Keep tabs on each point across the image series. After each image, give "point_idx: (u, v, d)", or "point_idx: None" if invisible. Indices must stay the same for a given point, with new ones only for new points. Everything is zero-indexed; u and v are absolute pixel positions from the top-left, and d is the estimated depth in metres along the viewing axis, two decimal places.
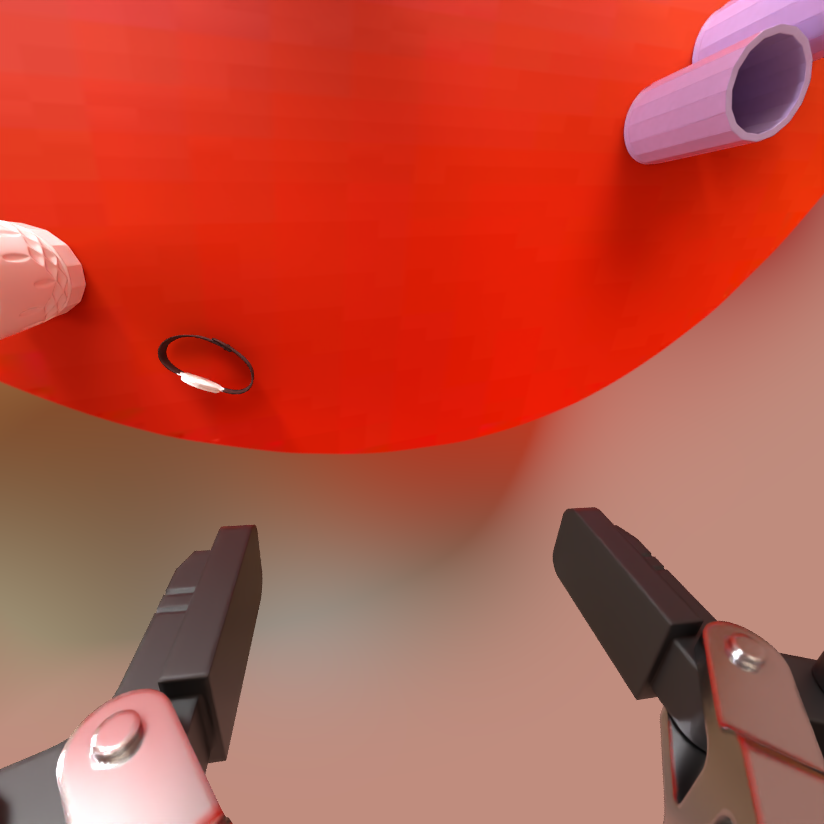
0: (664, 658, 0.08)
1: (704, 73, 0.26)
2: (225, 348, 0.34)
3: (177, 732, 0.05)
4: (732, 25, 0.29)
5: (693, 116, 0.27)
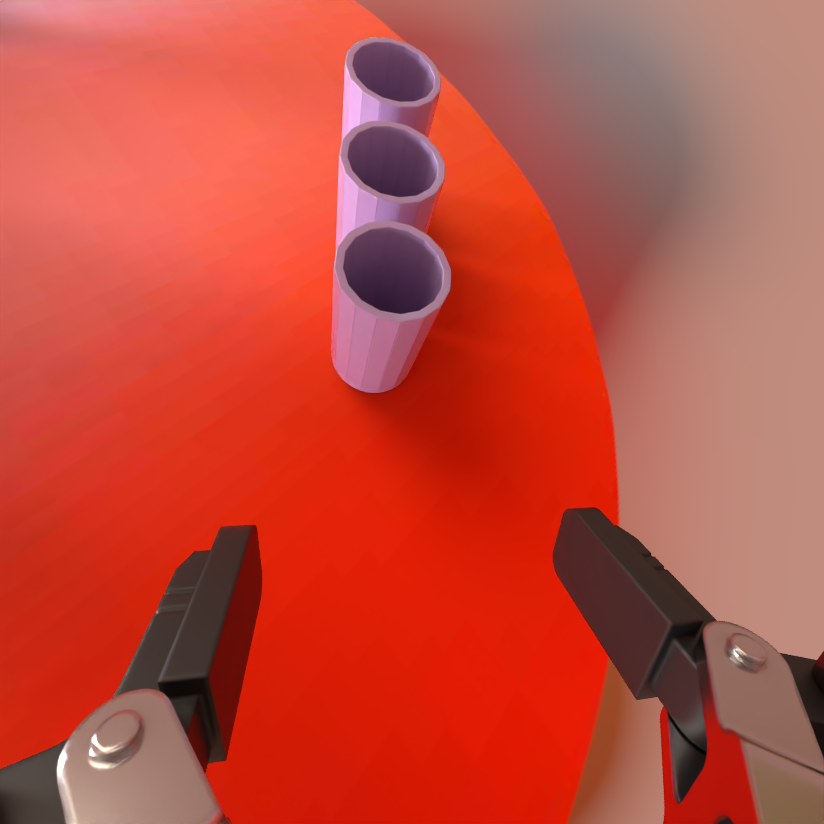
0: (664, 658, 0.08)
1: (336, 308, 0.21)
2: None
3: (177, 732, 0.05)
4: None
5: (364, 339, 0.21)
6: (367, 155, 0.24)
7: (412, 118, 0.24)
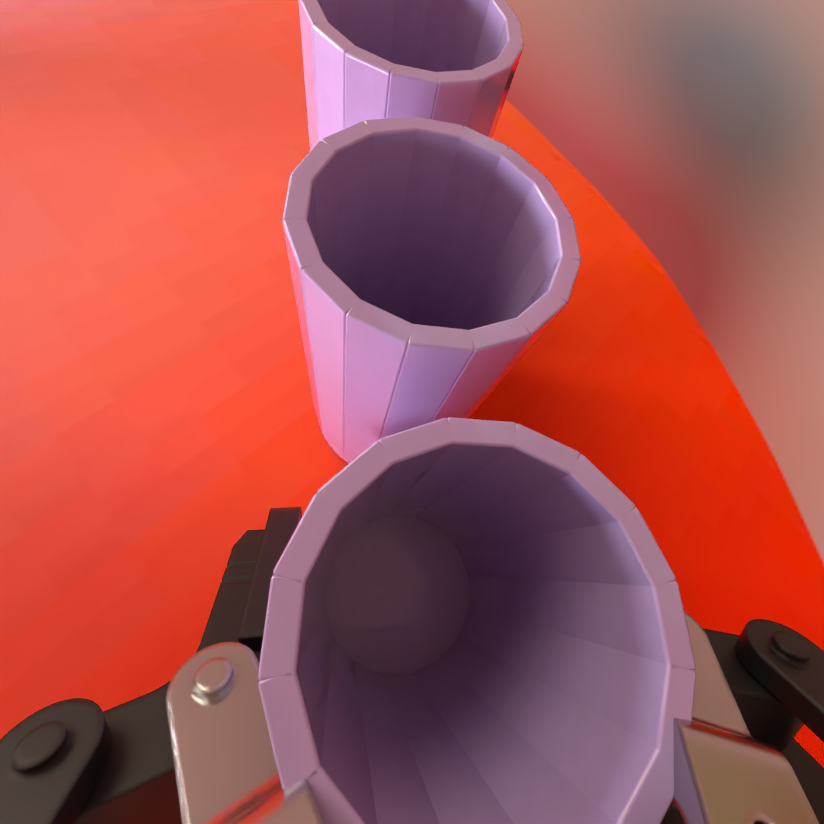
0: None
1: None
2: None
3: None
4: (331, 421, 0.13)
5: None
6: (364, 205, 0.10)
7: (465, 112, 0.10)
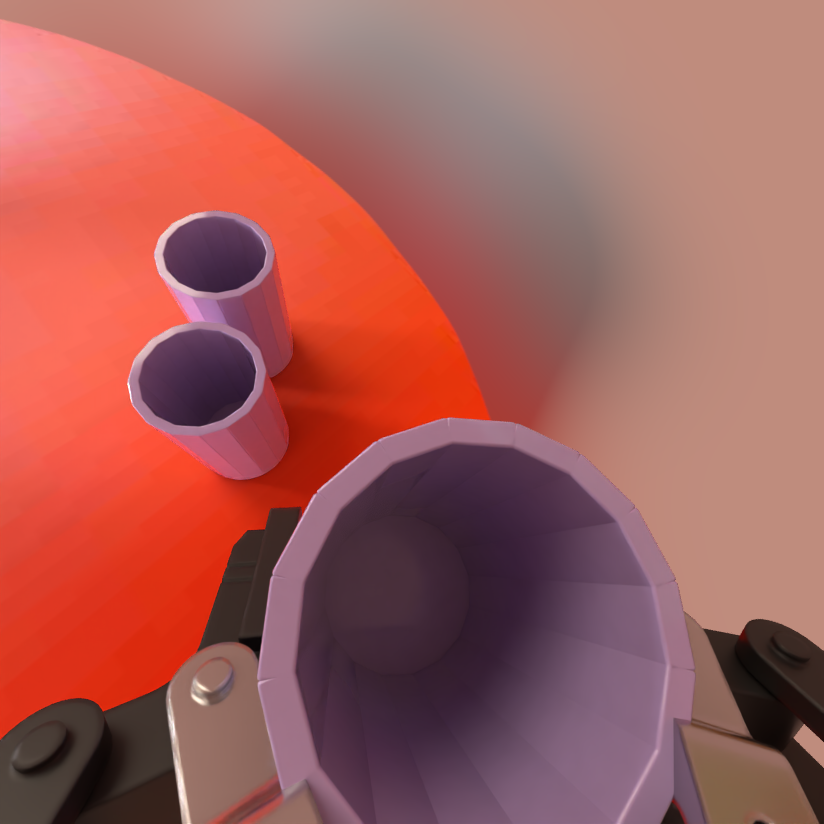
0: None
1: None
2: None
3: None
4: None
5: None
6: (187, 352, 0.21)
7: (239, 304, 0.21)
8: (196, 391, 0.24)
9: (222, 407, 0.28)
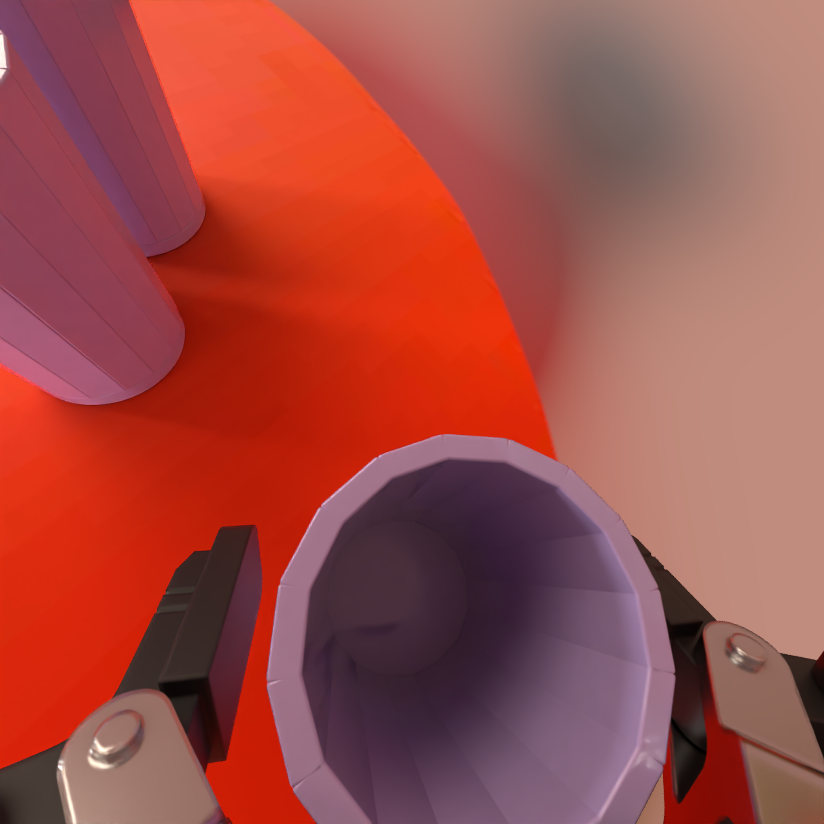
0: None
1: None
2: None
3: (177, 732, 0.05)
4: None
5: None
6: None
7: None
8: None
9: None
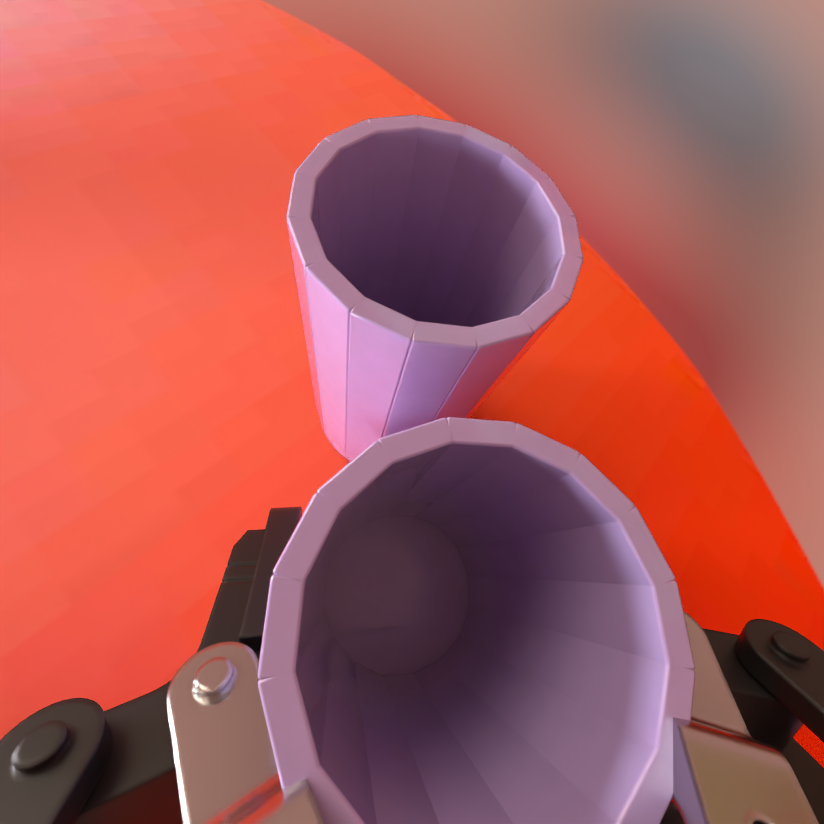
0: None
1: None
2: None
3: None
4: None
5: None
6: (376, 491, 0.07)
7: (508, 354, 0.08)
8: (341, 539, 0.11)
9: (354, 531, 0.14)
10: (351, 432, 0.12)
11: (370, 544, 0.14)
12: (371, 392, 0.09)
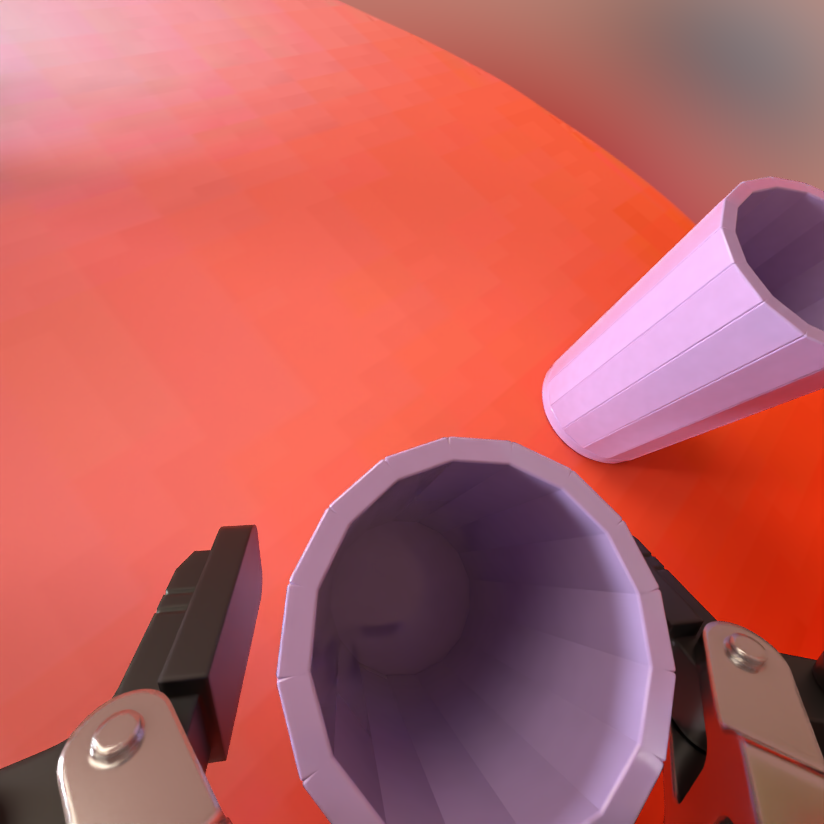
0: None
1: None
2: None
3: (177, 732, 0.05)
4: None
5: None
6: (382, 503, 0.08)
7: None
8: (348, 545, 0.11)
9: (359, 535, 0.15)
10: (630, 427, 0.15)
11: (374, 549, 0.15)
12: (726, 394, 0.12)
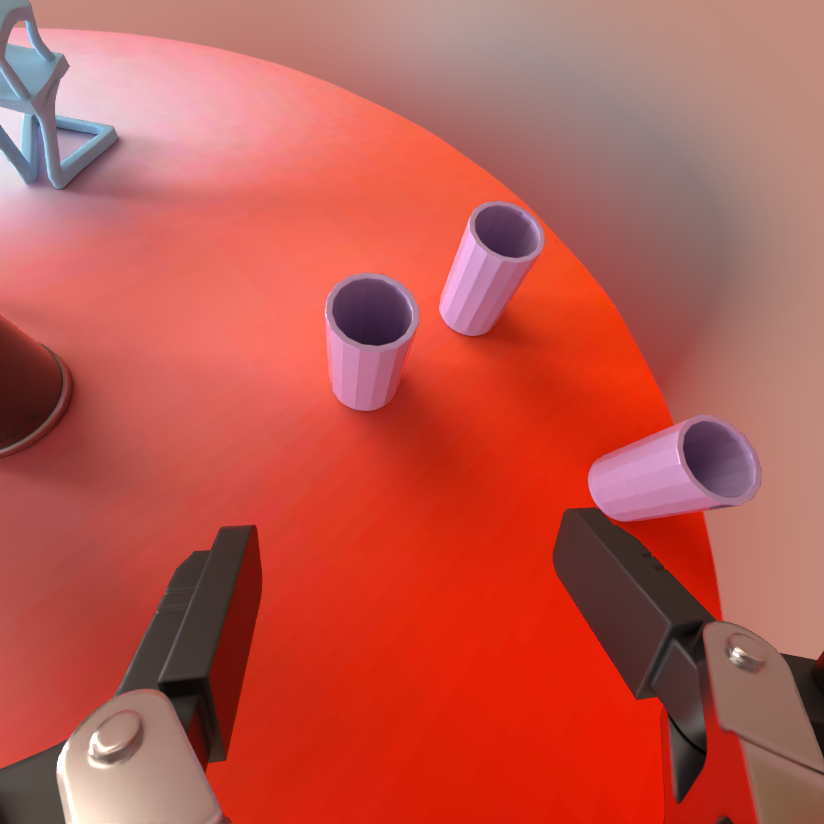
0: (664, 658, 0.08)
1: (657, 483, 0.27)
2: None
3: (176, 732, 0.05)
4: (337, 381, 0.30)
5: (685, 507, 0.27)
6: (350, 298, 0.27)
7: (524, 267, 0.30)
8: None
9: None
10: (465, 307, 0.34)
11: None
12: (483, 282, 0.31)
